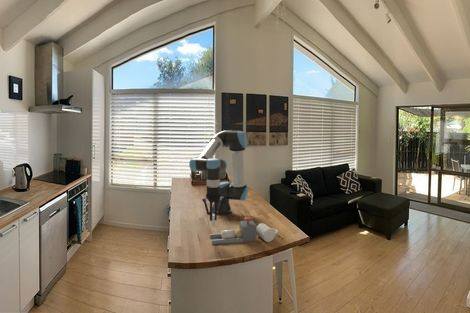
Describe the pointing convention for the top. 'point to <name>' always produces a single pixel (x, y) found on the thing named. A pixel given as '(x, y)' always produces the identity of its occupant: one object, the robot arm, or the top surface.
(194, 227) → the top surface
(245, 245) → the top surface
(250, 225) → the valve rig
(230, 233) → the fitting
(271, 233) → the mug
